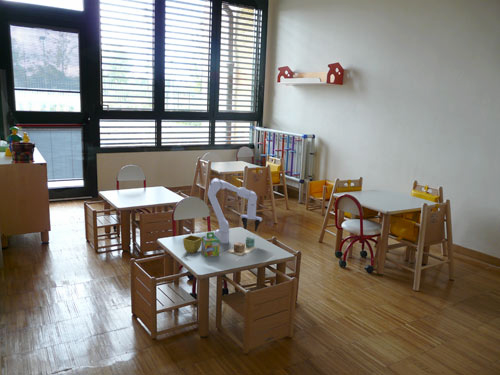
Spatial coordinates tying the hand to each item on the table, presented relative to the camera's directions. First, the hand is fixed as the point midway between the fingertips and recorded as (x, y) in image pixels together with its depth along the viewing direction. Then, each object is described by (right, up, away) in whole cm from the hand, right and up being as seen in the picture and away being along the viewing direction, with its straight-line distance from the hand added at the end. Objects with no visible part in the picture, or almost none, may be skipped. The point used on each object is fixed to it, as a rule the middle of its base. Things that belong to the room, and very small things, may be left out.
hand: (250, 229), depth 283 cm
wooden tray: (-5, -13, -13) cm, 19 cm away
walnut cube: (-7, -12, -17) cm, 22 cm away
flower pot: (-37, -12, -17) cm, 42 cm away
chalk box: (-25, -14, -22) cm, 36 cm away
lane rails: (-8, -14, -17) cm, 23 cm away
